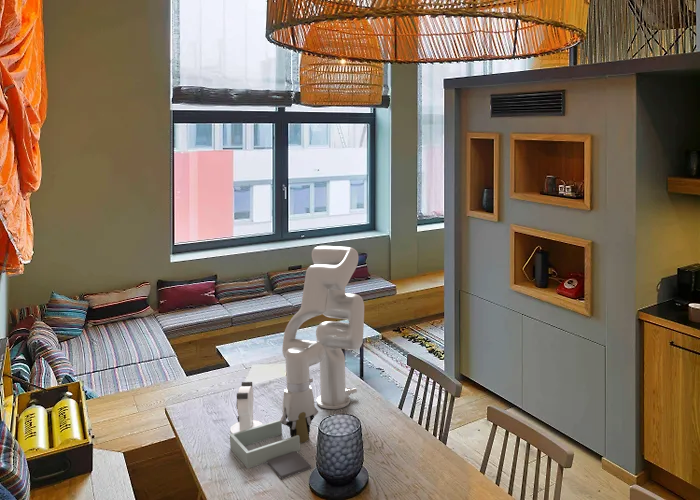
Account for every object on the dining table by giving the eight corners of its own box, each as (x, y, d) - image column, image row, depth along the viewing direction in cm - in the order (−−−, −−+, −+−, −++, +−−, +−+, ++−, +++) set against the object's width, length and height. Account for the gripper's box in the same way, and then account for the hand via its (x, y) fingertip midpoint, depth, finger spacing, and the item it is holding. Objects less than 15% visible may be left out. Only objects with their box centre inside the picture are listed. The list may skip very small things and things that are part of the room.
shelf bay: (280, 433, 198) (280, 419, 197) (300, 450, 186) (299, 436, 185) (230, 448, 188) (229, 434, 187) (247, 468, 176) (246, 453, 176)
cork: (306, 443, 190) (305, 412, 188) (288, 442, 191) (287, 411, 189) (311, 434, 196) (310, 404, 194) (294, 433, 197) (292, 403, 195)
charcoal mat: (295, 453, 184) (295, 451, 184) (311, 468, 176) (311, 465, 176) (267, 463, 179) (266, 460, 179) (281, 479, 171) (281, 475, 170)
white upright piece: (234, 420, 208) (231, 380, 205) (265, 419, 208) (263, 380, 205) (227, 437, 196) (224, 395, 193) (261, 436, 196) (258, 394, 193)
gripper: (314, 375, 198) (316, 425, 201) (270, 387, 189) (272, 439, 192) (326, 382, 192) (327, 434, 195) (280, 395, 183) (282, 448, 186)
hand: (300, 436), depth 194 cm, fingers closed on cork, 3 cm apart
